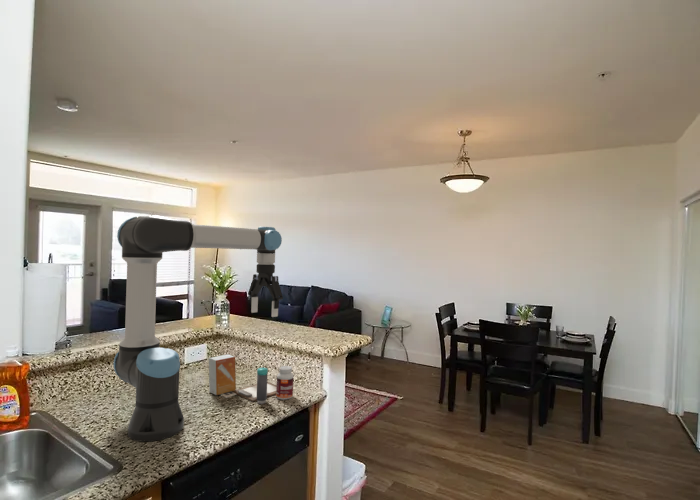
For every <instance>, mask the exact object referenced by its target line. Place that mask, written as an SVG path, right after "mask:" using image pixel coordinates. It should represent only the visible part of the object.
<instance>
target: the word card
mask: <svg viewBox="0 0 700 500" xmlns="http://www.w3.org/2000/svg"><path fill="white" fill-rule="evenodd" d="M218 396H221V397H223V398H226V399H227V398H230V397H234V396H238V395H237V394H236V393H234V392H232V391H230V392H227V393H223V394H219V395H218Z"/></svg>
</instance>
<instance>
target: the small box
mask: <svg viewBox="0 0 700 500" xmlns="http://www.w3.org/2000/svg"><path fill="white" fill-rule="evenodd" d="M236 374H237V373H236V356H234V355H232V354H227V353H226V354H222V355H218V356H214V357H213V356H212V357H208V384H209V386H208V387H209V389H208V390H209V393H211V394H213V395H215V396H220V395H219V394H223V393H227V392H230V391H235V390H237V386H236V385H237V384H236V383H237V377H236Z"/></svg>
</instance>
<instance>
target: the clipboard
mask: <svg viewBox="0 0 700 500" xmlns="http://www.w3.org/2000/svg"><path fill="white" fill-rule="evenodd" d="M276 388H277V384H274V383H271V382H269V381H267V398H269V397H272V396H276ZM232 392H234V393H236V394H237V395H236V396H239V397H240V398H243V399H245V400H248V401H250V402H252V403H254V402H257V383H256V384H255V383H254V384H252V385H247V386H245V387H242V388H238V389H236V390H235V391H232Z"/></svg>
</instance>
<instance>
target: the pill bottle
mask: <svg viewBox="0 0 700 500" xmlns="http://www.w3.org/2000/svg"><path fill="white" fill-rule="evenodd" d="M292 371H293V368H292V366H288V365H282V366H280V367H279V371H278V374H277V376H276V385H277V388H276V394H275V397H276V398H277V399H278V400H282V401H283V400H284V401H286V400H290V399H292V398H293V395H294V374H293V372H292Z"/></svg>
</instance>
